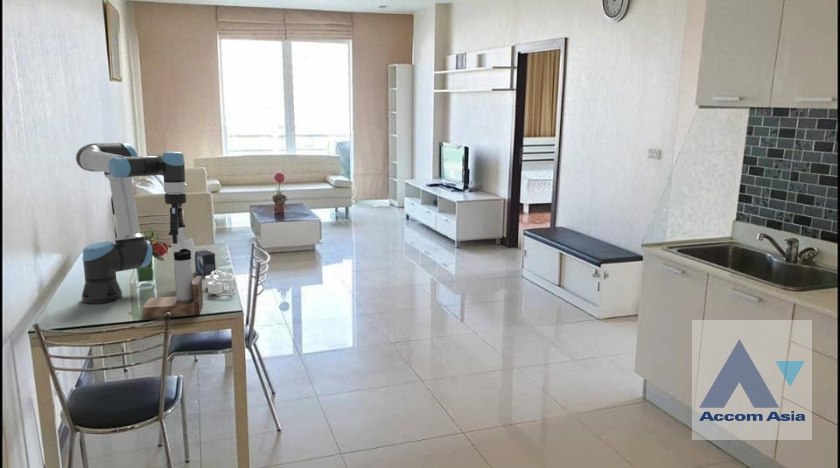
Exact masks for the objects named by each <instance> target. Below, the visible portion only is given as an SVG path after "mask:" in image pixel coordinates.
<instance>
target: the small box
mask: <svg viewBox="0 0 840 468" xmlns="http://www.w3.org/2000/svg"><path fill="white" fill-rule="evenodd" d="M194 266H195V273H198V274H199V275H200V276H202V277H206V276H209V275H211V272H212V271H215V270H217V269H216V253H215V252H212V251H210V250H207V249H203V250H197V251H196V250H195V256H194ZM214 275H216V274H215V273H214Z"/></svg>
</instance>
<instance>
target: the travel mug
mask: <svg viewBox="0 0 840 468" xmlns="http://www.w3.org/2000/svg"><path fill="white" fill-rule="evenodd" d="M173 263H174V281H175V284H174V285H175V295H176V296H175V297H176V300H177V302H180V303H186V302H191V301H193V286H192V284H193V282H194V280H193V266H192V261H191V251H190V250H187V249H182V250H180V252H173Z"/></svg>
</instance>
